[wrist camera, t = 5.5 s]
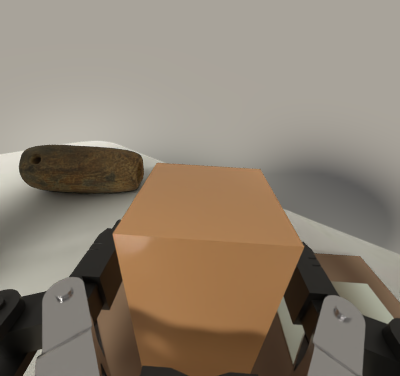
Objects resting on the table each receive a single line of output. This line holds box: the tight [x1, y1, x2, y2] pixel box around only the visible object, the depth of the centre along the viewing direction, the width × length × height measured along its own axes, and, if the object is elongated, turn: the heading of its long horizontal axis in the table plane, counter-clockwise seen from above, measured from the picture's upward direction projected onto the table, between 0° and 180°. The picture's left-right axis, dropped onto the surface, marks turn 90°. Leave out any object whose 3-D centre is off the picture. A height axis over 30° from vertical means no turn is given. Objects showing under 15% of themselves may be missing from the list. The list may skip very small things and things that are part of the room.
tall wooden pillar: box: [113, 163, 304, 376], centre depth 10 cm, size 5×5×10 cm
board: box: [97, 253, 400, 376], centre depth 11 cm, size 22×14×8 cm, turn 88°
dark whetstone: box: [19, 145, 144, 193], centre depth 28 cm, size 15×7×7 cm, turn 99°
